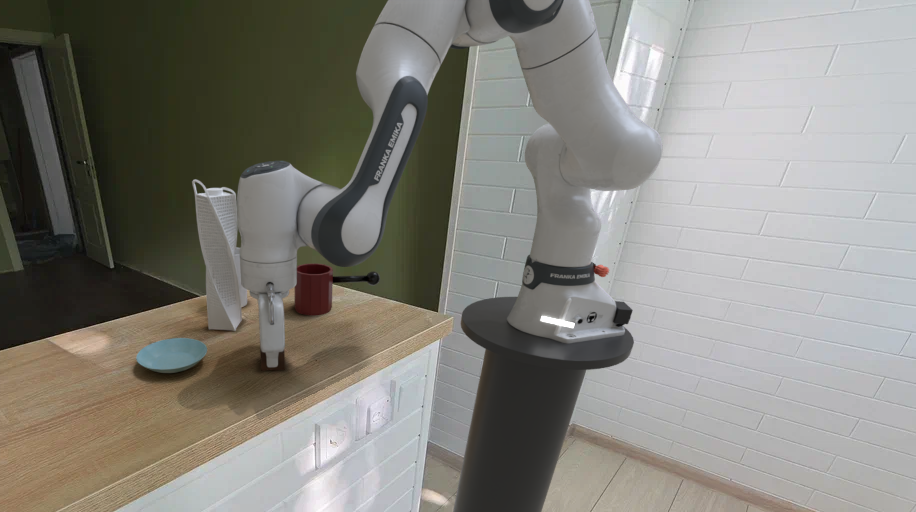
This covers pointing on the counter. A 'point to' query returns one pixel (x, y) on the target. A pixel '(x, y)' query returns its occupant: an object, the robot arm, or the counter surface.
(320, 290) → the pot
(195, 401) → the counter surface
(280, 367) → the block
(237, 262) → the mug
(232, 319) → the skyscraper
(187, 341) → the saucer
